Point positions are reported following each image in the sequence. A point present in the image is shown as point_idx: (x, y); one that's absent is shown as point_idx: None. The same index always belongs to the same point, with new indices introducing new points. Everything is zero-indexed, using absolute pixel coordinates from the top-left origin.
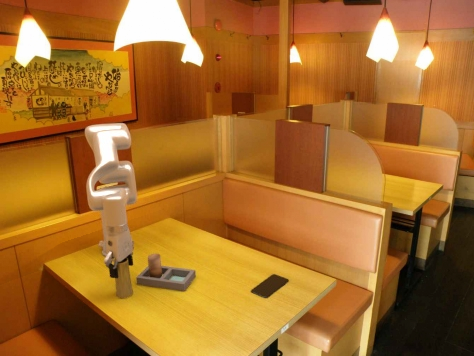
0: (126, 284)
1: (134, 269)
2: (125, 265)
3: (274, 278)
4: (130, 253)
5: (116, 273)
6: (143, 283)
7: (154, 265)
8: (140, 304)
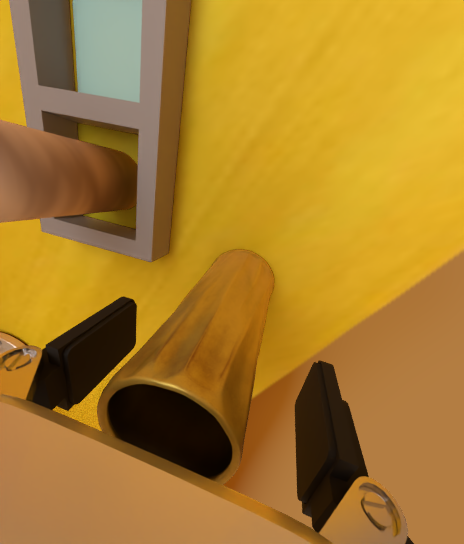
0: (255, 285)
1: (82, 289)
2: (211, 363)
3: None
4: (31, 417)
5: (339, 406)
6: (167, 223)
7: (61, 161)
8: (323, 186)
